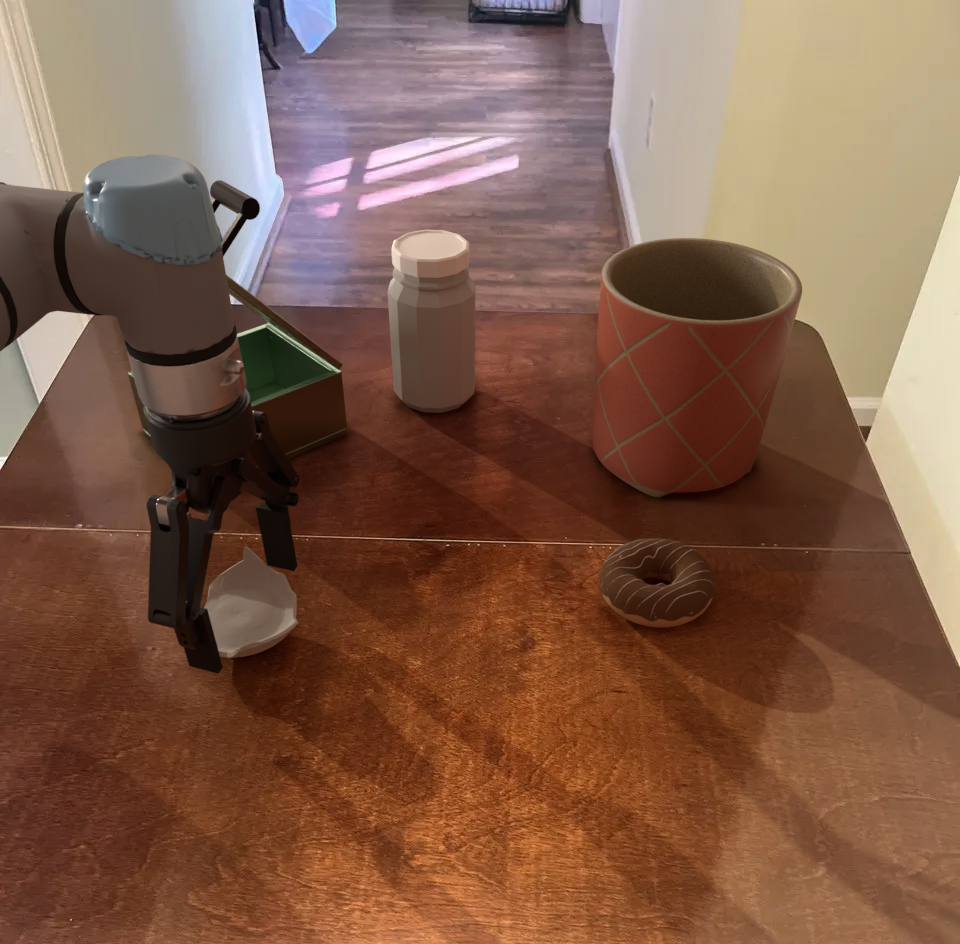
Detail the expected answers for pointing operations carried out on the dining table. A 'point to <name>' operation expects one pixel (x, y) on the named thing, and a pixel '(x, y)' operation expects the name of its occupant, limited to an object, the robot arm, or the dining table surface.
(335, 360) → the lid
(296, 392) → the compartment
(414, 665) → the dining table surface
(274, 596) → the pottery shard
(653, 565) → the donut
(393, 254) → the jar
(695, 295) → the planter
